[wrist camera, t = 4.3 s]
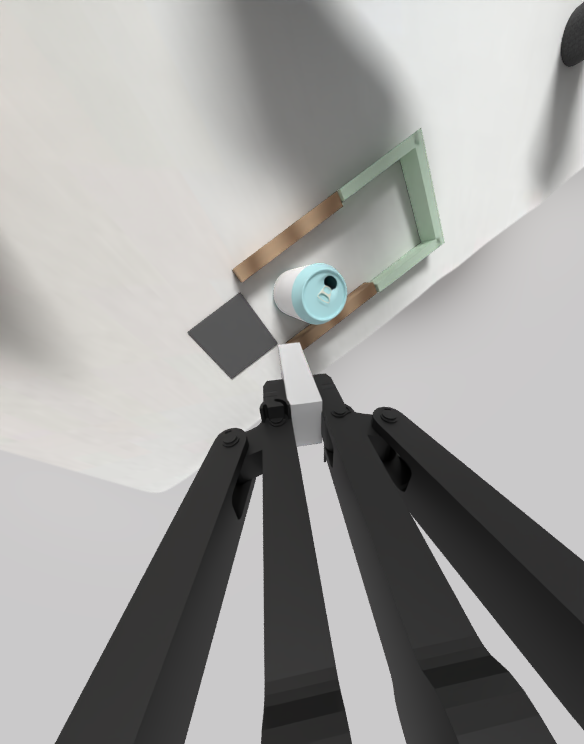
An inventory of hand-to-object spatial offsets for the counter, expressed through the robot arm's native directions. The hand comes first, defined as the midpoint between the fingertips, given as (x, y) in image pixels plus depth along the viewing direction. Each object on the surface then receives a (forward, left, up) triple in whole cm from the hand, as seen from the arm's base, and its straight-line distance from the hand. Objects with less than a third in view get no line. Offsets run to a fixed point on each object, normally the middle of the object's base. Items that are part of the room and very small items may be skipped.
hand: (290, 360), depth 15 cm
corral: (+17, +22, -21) cm, 35 cm away
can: (+5, +6, -22) cm, 23 cm away
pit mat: (-2, -3, -21) cm, 22 cm away
